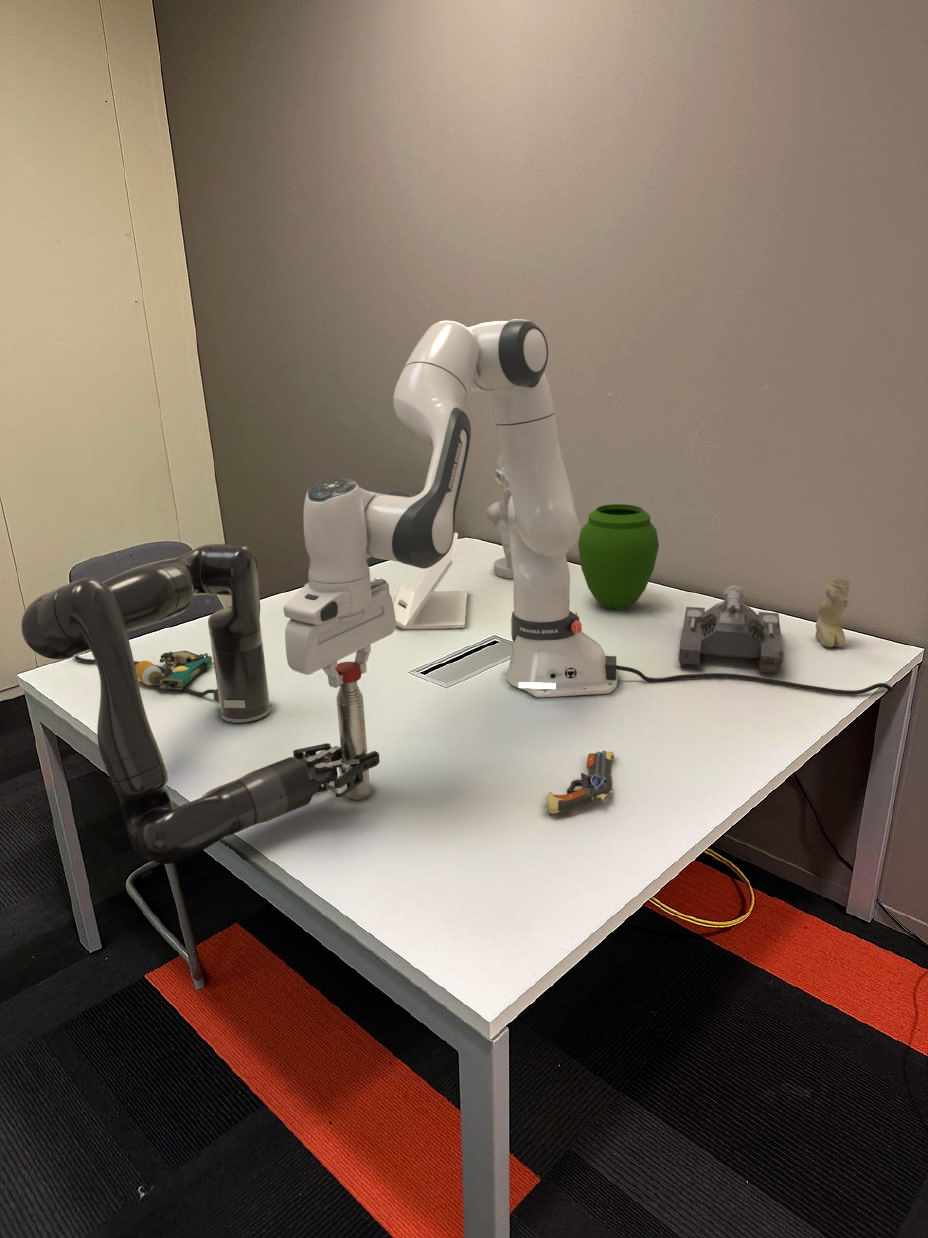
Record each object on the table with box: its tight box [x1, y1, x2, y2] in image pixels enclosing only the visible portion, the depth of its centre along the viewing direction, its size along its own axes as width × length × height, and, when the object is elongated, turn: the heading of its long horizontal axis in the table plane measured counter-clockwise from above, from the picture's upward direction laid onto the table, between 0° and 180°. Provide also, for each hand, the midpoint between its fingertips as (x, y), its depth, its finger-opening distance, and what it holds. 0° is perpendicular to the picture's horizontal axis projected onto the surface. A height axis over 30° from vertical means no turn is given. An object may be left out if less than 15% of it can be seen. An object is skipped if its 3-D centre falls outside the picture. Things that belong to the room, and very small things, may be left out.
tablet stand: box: [393, 531, 468, 630], centre depth 211 cm, size 18×25×17 cm
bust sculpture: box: [485, 454, 513, 579], centre depth 231 cm, size 16×24×35 cm
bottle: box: [336, 681, 371, 801], centre depth 132 cm, size 4×4×21 cm
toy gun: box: [546, 750, 616, 814], centre depth 135 cm, size 3×19×10 cm
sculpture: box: [814, 576, 852, 648], centre depth 185 cm, size 6×7×15 cm
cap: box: [335, 661, 362, 683], centre depth 129 cm, size 4×4×2 cm
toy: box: [678, 584, 784, 674], centre depth 182 cm, size 25×20×15 cm
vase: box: [577, 503, 660, 610], centre depth 210 cm, size 20×20×24 cm
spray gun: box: [135, 650, 213, 690], centre depth 180 cm, size 4×17×15 cm
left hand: (369, 751), depth 135 cm, fingers closed on bottle, 4 cm apart
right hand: (348, 679), depth 129 cm, fingers closed on cap, 4 cm apart
